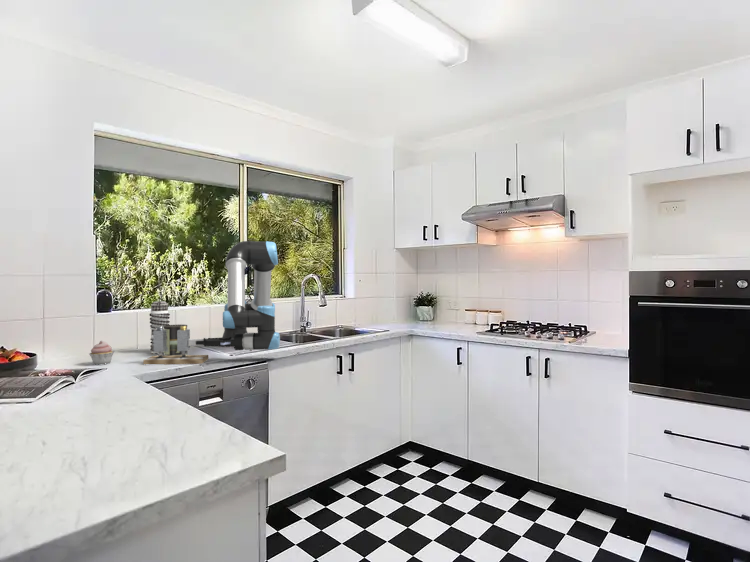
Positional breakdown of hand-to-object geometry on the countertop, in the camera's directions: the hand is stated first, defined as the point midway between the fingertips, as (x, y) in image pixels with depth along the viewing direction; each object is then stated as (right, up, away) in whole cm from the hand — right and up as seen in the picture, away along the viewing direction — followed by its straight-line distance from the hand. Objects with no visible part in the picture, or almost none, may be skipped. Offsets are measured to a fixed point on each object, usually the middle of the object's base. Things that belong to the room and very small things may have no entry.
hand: (189, 342), depth 195 cm
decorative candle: (-25, -8, +25) cm, 36 cm away
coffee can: (-13, -9, +17) cm, 23 cm away
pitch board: (-5, -8, 0) cm, 10 cm away
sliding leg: (-2, -6, 0) cm, 7 cm away
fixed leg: (-12, -7, -1) cm, 14 cm away
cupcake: (-36, -9, -3) cm, 37 cm away
